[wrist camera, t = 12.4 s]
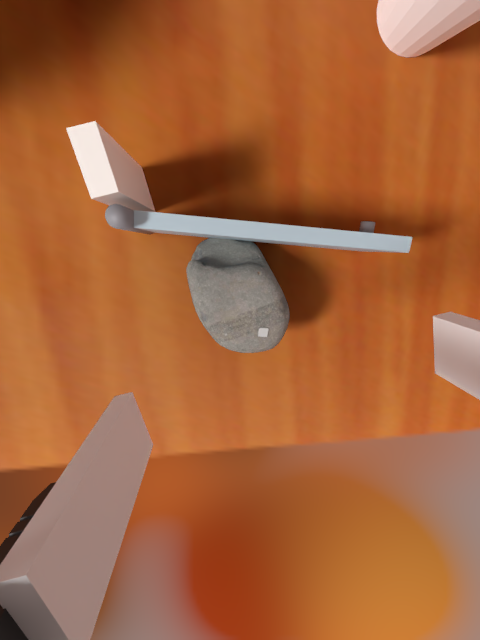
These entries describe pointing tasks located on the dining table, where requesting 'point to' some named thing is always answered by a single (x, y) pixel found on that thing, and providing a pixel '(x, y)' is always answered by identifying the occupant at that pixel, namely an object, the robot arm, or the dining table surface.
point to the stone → (237, 295)
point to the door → (255, 231)
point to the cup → (423, 23)
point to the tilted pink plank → (109, 169)
